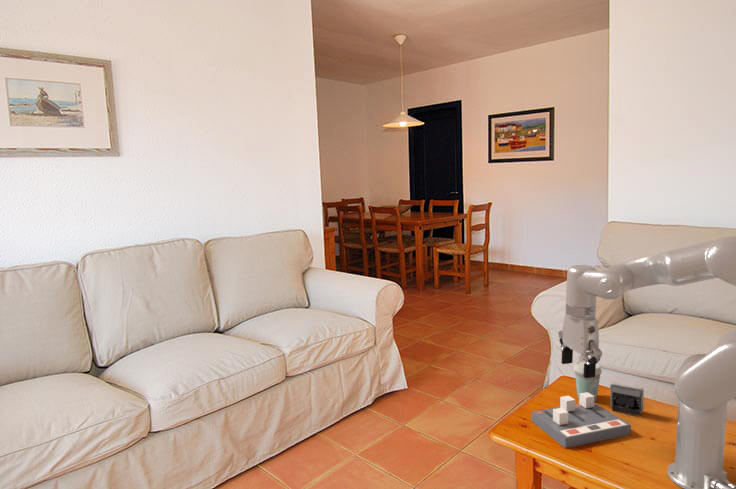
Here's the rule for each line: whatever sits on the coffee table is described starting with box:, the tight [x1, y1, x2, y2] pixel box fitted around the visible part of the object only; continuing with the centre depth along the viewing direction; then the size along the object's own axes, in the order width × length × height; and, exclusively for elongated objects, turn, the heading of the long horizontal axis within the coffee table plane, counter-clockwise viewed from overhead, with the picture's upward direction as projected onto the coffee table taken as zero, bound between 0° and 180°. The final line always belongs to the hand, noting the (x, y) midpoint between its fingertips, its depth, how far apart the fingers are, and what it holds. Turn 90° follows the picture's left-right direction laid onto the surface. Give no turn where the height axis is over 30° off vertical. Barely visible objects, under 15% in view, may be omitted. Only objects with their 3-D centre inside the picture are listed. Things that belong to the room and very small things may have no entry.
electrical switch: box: [609, 382, 645, 417], centre depth 151 cm, size 9×5×9 cm, turn 57°
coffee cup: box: [573, 360, 603, 403], centre depth 161 cm, size 8×8×12 cm
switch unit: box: [531, 402, 632, 449], centre depth 143 cm, size 16×22×3 cm
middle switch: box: [559, 395, 576, 412], centre depth 148 cm, size 3×3×4 cm
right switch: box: [578, 392, 595, 408], centre depth 150 cm, size 3×3×4 cm
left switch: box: [553, 408, 568, 425], centre depth 140 cm, size 3×3×4 cm
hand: (577, 370), depth 133 cm, fingers open, 9 cm apart
